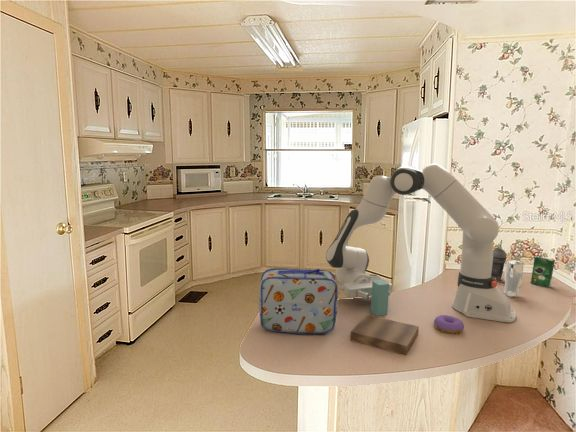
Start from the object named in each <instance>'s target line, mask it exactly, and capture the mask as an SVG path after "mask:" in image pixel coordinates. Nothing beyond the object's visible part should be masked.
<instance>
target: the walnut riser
mask: <svg viewBox="0 0 576 432" xmlns="http://www.w3.org/2000/svg"><path fill="white" fill-rule="evenodd" d="M419 329H420V328H419V326H418V325H414V324H413V325H412V324H409V323H405V322H401V321H397V320H393V319H388V318H384V317H379V316H377V315H375V316H374V315H371V314H366V315H365V317H364V318H362V320H361V321H359V322H358V324H356V325H355V326H354V328H352V330H351V331H350V341H352V342H354V343H360V344H362V345H363V344H364V345H367V346H371V347H375V348H379V349H380V350H381V349H382V350H386V351H389V352H391V353H392V352H393V353H397V354H400V355H405V356H407V355H408V354H409V352H410V350H411V348H412V347H413V345H414V343H415V341H416V340H417V337H418V336H419Z"/></svg>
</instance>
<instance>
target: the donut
mask: <svg viewBox="0 0 576 432" xmlns="http://www.w3.org/2000/svg"><path fill="white" fill-rule="evenodd" d="M433 324H434V327H435V328H436V329H437V330H438V331H441V332H443V333H445V334H447V333H448V334H454V335H455V334H459V333H462V332H463V331H464V330H465V323H464V322H463V320H461V319H459V318H458V317H455V316H453V315H452V316H451V315H448V314H441V315H438V316H436V317H435V318H434V320H433Z"/></svg>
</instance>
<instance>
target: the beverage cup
mask: <svg viewBox="0 0 576 432" xmlns="http://www.w3.org/2000/svg"><path fill="white" fill-rule="evenodd" d="M502 243H503V240H502V239H501V240H500V244H499V247H497V248H493V263H492V272H491V276H492V277H493V278H496V282H497V281H498V282H499V281H500V282H501V280H502V276H503V272H504V269H505V265H506V261H507V253H506V251H505V250H504V249H503V248H502Z"/></svg>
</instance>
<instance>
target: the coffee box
mask: <svg viewBox="0 0 576 432" xmlns="http://www.w3.org/2000/svg"><path fill="white" fill-rule="evenodd" d="M555 261H556V260H555V259H552V258H551V259H550V258H546V257H540V256H534V261H533V266H532V272H531V279H530V280H531V281H530V284H533V285H538V286H540V287H541V286H542V287H545V288H550V287H551V285H552V280H553V273H554V268H555Z"/></svg>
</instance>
